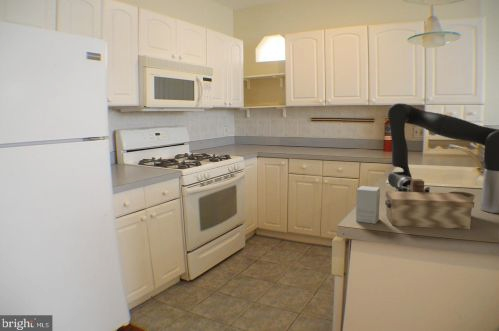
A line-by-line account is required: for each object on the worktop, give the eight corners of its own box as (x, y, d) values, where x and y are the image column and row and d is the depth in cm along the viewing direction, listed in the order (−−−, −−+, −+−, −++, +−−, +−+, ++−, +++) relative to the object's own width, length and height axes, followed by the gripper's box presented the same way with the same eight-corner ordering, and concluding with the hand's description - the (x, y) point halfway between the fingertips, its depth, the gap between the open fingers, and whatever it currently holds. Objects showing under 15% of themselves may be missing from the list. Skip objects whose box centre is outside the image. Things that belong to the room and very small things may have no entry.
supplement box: (379, 219, 140) (381, 187, 138) (375, 224, 134) (376, 191, 132) (360, 216, 144) (361, 185, 142) (355, 221, 137) (356, 189, 135)
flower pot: (460, 219, 139) (462, 197, 137) (440, 213, 148) (442, 192, 146) (479, 217, 141) (481, 195, 140) (459, 211, 150) (461, 190, 149)
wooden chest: (452, 213, 147) (454, 189, 145) (474, 229, 127) (476, 202, 125) (379, 210, 152) (380, 186, 151) (388, 225, 132) (390, 199, 130)
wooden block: (419, 212, 148) (421, 179, 145) (422, 215, 144) (424, 181, 141) (408, 212, 148) (410, 179, 146) (411, 215, 144) (413, 181, 142)
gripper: (391, 177, 159) (400, 185, 143) (426, 178, 157) (438, 186, 140) (390, 193, 160) (398, 203, 144) (424, 195, 158) (437, 205, 141)
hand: (418, 195), depth 142 cm, fingers closed on wooden block, 4 cm apart
